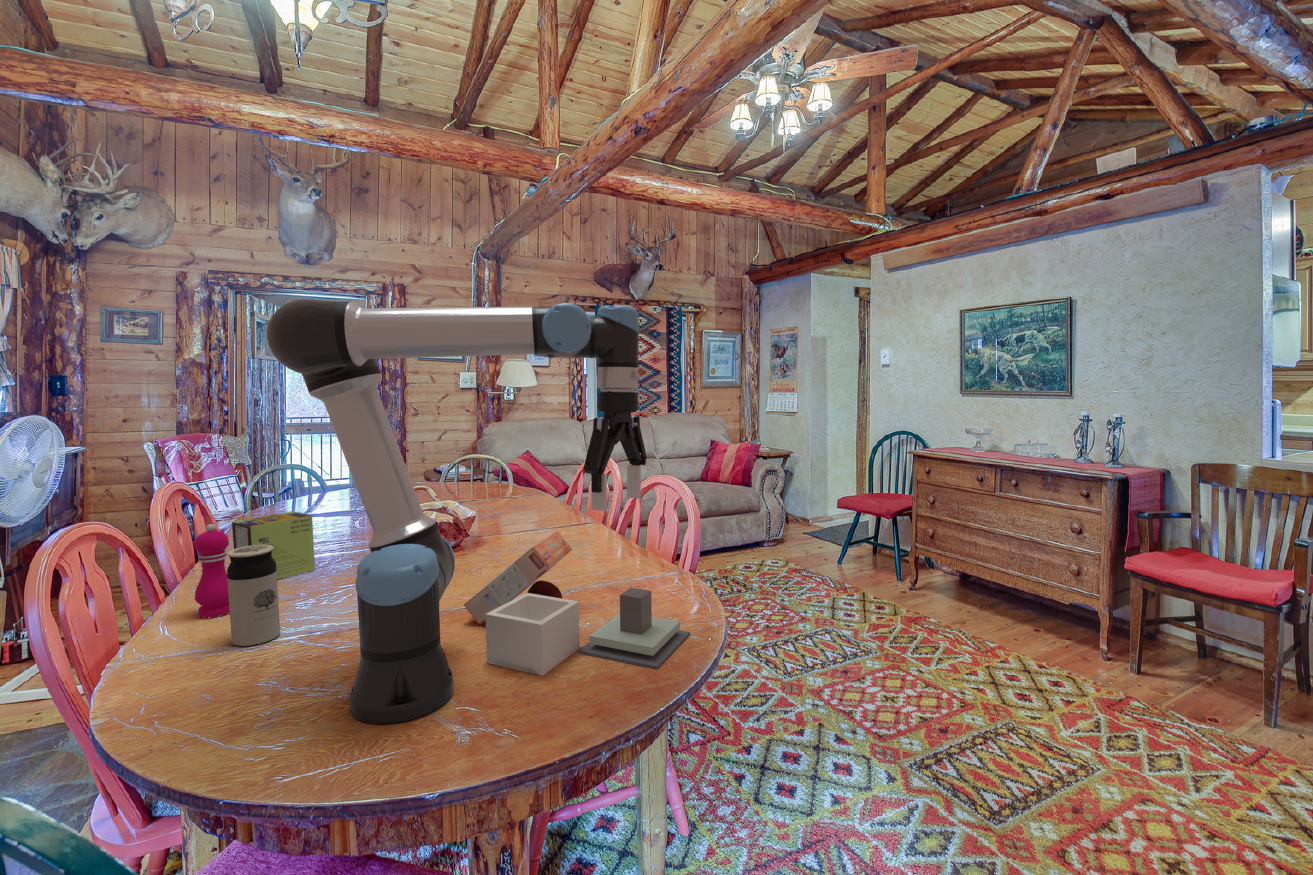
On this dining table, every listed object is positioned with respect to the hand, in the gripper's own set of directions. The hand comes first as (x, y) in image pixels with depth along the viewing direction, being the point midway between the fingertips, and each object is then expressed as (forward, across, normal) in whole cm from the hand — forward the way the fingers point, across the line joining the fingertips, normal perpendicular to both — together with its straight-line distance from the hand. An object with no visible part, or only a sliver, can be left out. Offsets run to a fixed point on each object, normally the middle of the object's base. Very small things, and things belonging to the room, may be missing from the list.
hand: (617, 503), depth 112 cm
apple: (+28, +5, +20) cm, 35 cm away
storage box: (+28, -11, +11) cm, 32 cm away
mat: (+27, +2, -4) cm, 27 cm away
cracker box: (+26, +2, +34) cm, 42 cm away
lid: (+27, +2, -4) cm, 27 cm away
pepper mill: (+29, -22, +88) cm, 96 cm away
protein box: (+29, +1, +104) cm, 107 cm away
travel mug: (+29, -27, +66) cm, 77 cm away
